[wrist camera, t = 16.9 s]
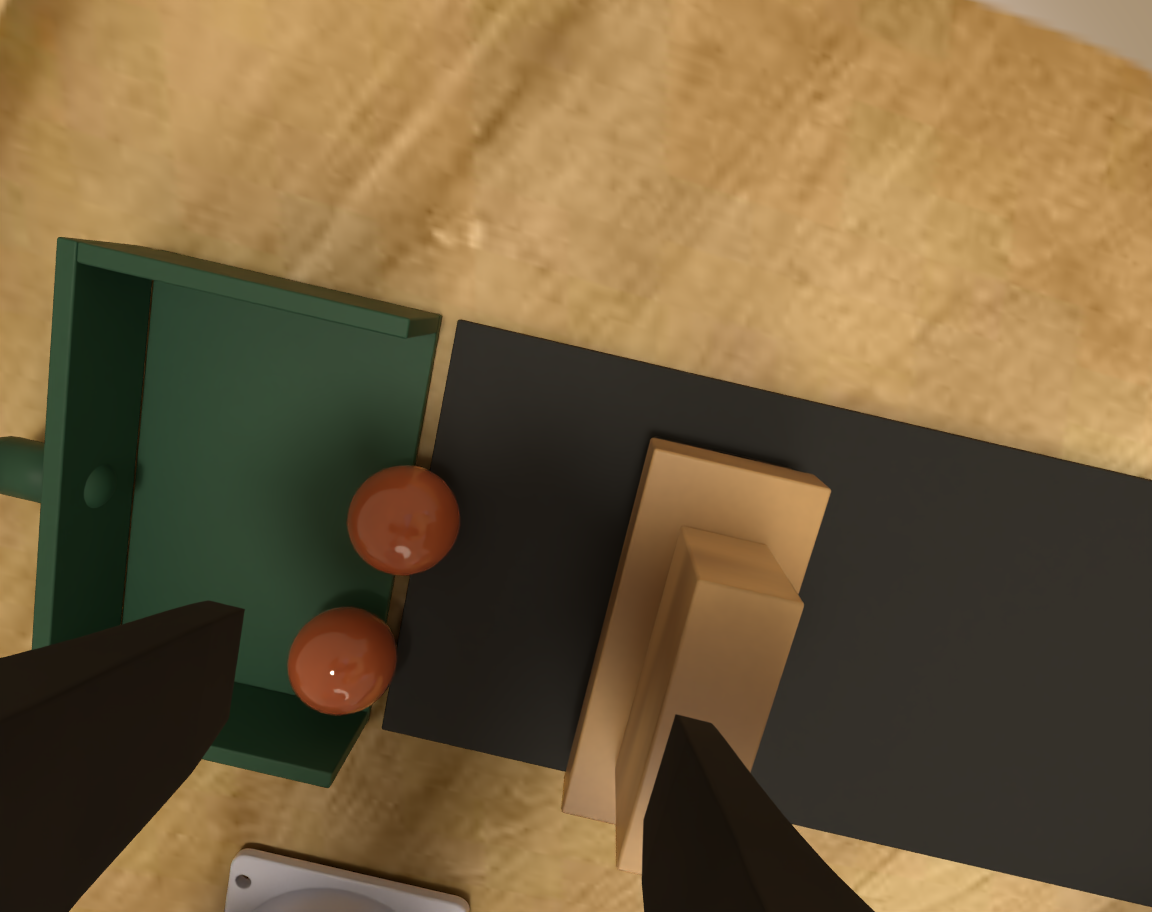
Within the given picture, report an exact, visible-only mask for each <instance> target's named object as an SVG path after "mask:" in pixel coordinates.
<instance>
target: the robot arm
mask: <svg viewBox="0 0 1152 912" xmlns="http://www.w3.org/2000/svg"><path fill="white" fill-rule="evenodd" d="M244 612H245V609H243V608H238V607H234V606H230V605H226V604H222V603H218V602H214V601H210V600H207V601H202V602H197V603H193V604H189V605H185V606H182V607H178V608H175V609H171V610H168V611H164V612H161V613H158V614H154V615H151V616H148V617H145V618H141V619H138V620H135V621H132V622H128V623H125V624H122V625H118V626H115V627H112V628H109V629H105V630H102V631H99V632H95V633H92V634H89V635H85V636H82V637H78V638H75V639H71V640H67V641H63V642H60V643H56V644H52V645H48V646H45V647H41V648H37V649H34V650H30V651H26V652H22V653H19V654H15V655H11V656H7V657H3V658H0V912H69V911H70V910H71V908H72V907H73V906H74V905H75V904H76V902H77V901H78V900H79V899H80V898H81V896H82V895H83V894H84V893H85V892H86V891H87V890H88V888H89V887H90V886H91V885H92V884H93V883H94V882H95V881H96V880H97V878H98V877H99V876H100V875H101V874H102V873H103V872H104V871H105V870H106V868H107V867H108V866H109V865H110V864H111V863H112V862H113V861H114V860H115V858H116V857H117V856H118V855H119V854H120V853H121V852H122V851H123V850H124V848H125V847H126V846H127V845H128V844H129V843H130V842H131V841H132V840H133V838H134V837H135V836H136V835H137V834H138V833H139V832H140V831H141V830H142V828H143V827H144V826H145V825H146V824H147V823H148V822H149V821H150V820H151V819H152V817H153V816H154V815H155V814H156V813H157V812H158V811H159V810H160V808H161V807H162V806H163V805H164V804H165V803H166V802H167V801H168V799H169V798H170V797H171V796H172V795H173V794H174V793H175V791H176V790H177V789H178V788H179V787H180V786H181V785H182V783H183V782H184V781H185V780H186V779H187V778H188V777H189V775H190V774H191V773H192V772H193V770H194V769H195V768H196V766H197V765H198V763H199V762H200V761H201V759H202V758H203V756H204V755H205V753H206V752H207V751H208V749H209V748H210V746H211V745H212V743H213V742H214V740H215V739H216V737H217V736H218V734H219V733H220V731H221V730H222V728H223V727H224V725H225V724H226V722H227V721H228V719H229V713H230V707H231V700H232V693H233V686H234V680H235V673H236V666H237V659H238V653H239V646H240V639H241V632H242V626H243V619H244ZM243 875H245V876H247V877H249V879H247V878H245V877H244V876H243ZM642 890H643V902H644V912H874V911H873V910H872V909H871V908H870V907H869V906H868V905H867V904H866V903H865V902H864V901H863V900H862V899H861V898H860V897H859V896H858V895H857V894H856V893H855V892H854V891H853V890H852V889H851V888H850V887H849V886H848V885H847V884H846V883H845V882H844V881H843V880H842V879H841V878H840V877H839V876H838V875H837V874H836V873H835V872H834V871H833V870H832V869H831V868H830V867H829V866H828V865H827V864H826V863H825V862H824V861H823V860H822V858H821V857H820V856H819V855H818V854H817V853H816V852H815V851H814V849H813V848H812V847H811V846H810V845H809V844H808V843H807V842H806V840H805V839H804V838H803V837H802V836H801V835H800V834H799V832H798V831H797V830H796V829H795V828H794V827H793V826H792V824H791V823H790V822H789V821H788V820H787V818H786V817H785V816H784V815H783V814H782V812H781V811H780V810H779V809H778V807H777V806H776V805H775V804H774V802H773V801H772V800H771V799H770V797H769V796H768V795H767V794H766V792H765V791H764V790H763V788H762V787H761V786H760V785H759V783H758V782H757V781H756V779H755V778H754V777H753V775H752V774H751V773H750V772H749V770H748V769H747V768H746V766H745V765H744V764H743V762H742V761H741V760H740V758H739V757H738V756H737V754H736V753H735V752H734V750H733V749H732V748H731V746H730V745H729V744H728V742H727V741H726V740H725V738H724V737H723V736H722V734H721V733H720V732H719V731H718V729H717V728H716V727H715V726H714V725H713V724H712V723H710V722H706V721H702V720H698V719H694V718H689V717H685V716H681V715H677V714H675V718H674V721H673V724H672V727H671V731H670V734H669V737H668V741H667V744H666V747H665V750H664V754H663V757H662V760H661V764H660V767H659V770H658V773H657V777H656V780H655V783H654V787H653V790H652V793H651V796H650V800H649V803H648V806H647V810H646V813H645V816H644V819H643V845H642ZM224 912H469V905H468V903H467V901H466V900H464V899H463V898H461V897H459V896H455V895H451V894H447V893H442V892H438V891H434V890H429V889H425V888H421V887H416V886H412V885H408V884H403V883H399V882H395V881H390V880H386V879H382V878H377V877H373V876H369V875H364V874H360V873H356V872H351V871H347V870H343V869H338V868H334V867H330V866H325V865H321V864H317V863H312V862H308V861H304V860H299V859H295V858H291V857H286V856H282V855H278V854H273V853H269V852H265V851H260V850H256V849H250V848H246V849H242V850H240V851H239V852H238V853H237V854H236V856H235V857H234V859H233V861H232V863H231V868H230V875H229V882H228V889H227V896H226V903H225V910H224Z"/></svg>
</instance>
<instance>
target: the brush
mask: <svg viewBox="0 0 1152 912" xmlns="http://www.w3.org/2000/svg"><path fill="white" fill-rule="evenodd" d="M830 494H831V489H830V488H829V487H827V486H826V485H825V484H824V483H823V482H822V481H821V480H819V479H818V478H817V477H816V476H815V475H813V474H809V473H804V472H800V471H796V470H793V469H791V468H790V467H788V466H783V465H779V464H775V463H770V462H766V461H762V460H757V459H753V458H749V457H744V456H740V455H736V454H732V453H727V452H723V451H719V450H714V449H710V448H706V447H701V446H697V445H693V444H689V443H684V442H680V441H676V440H671V439H667V438H663V437H658V436H654V437H653V438H651V440H650V443H649V447H648V451H647V455H646V459H645V463H644V466H643V470H642V474H641V478H640V482H639V486H638V490H637V494H636V498H635V502H634V506H633V510H632V513H631V517H630V521H629V525H628V529H627V533H626V537H625V541H624V545H623V549H622V553H621V557H620V560H619V564H618V568H617V572H616V576H615V580H614V584H613V588H612V592H611V596H610V600H609V604H608V607H607V611H606V615H605V619H604V623H603V627H602V631H601V635H600V639H599V643H598V647H597V651H596V654H595V658H594V662H593V666H592V670H591V674H590V678H589V682H588V686H587V690H586V694H585V698H584V701H583V705H582V709H581V713H580V717H579V721H578V725H577V729H576V733H575V737H574V741H573V745H572V748H571V752H570V756H569V760H568V764H567V768H566V772H565V776H564V785H563V795H562V805H561V811H562V812H563V813H567V814H572V815H576V816H580V817H584V818H589V819H593V820H597V821H602V822H606V823H610V824H615V825H616V867H617V869H618V870H621V871H625V872H630V873H634V874H638V875H642V845H643V819H644V816H645V813H646V810H647V806H648V803H649V800H650V796H651V793H652V790H653V787H654V783H655V780H656V777H657V773H658V770H659V767H660V764H661V760H662V757H663V754H664V750H665V747H666V744H667V741H668V737H669V734H670V731H671V727H672V724H673V721H674V718H675V714H677V715H681V716H685V717H689V718H694V719H698V720H702V721H706V722H710V723H712V724H713V725H714V726H715V727H716V728H717V729H718V731H719V732H720V733H721V734H722V736H723V737H724V738H725V740H726V741H727V742H728V744H729V745H730V746H731V748H732V749H733V750H734V752H735V753H736V754H737V756H738V757H739V758H740V760H741V761H742V762H743V764H744V765H745V766H746V768H747V769H748V770H749V772H750V773H751V769H752V766H753V763H754V760H755V757H756V754H757V751H758V748H759V745H760V741H761V738H762V735H763V732H764V729H765V726H766V723H767V720H768V717H769V713H770V710H771V707H772V704H773V701H774V698H775V695H776V692H777V689H778V685H779V682H780V679H781V676H782V673H783V670H784V667H785V664H786V661H787V657H788V654H789V651H790V648H791V645H792V642H793V639H794V636H795V633H796V629H797V626H798V623H799V620H800V617H801V614H802V611H803V608H804V603H803V601H802V600H801V598H800V597H799V595H798V594H799V591H800V588H801V585H802V582H803V578H804V575H805V572H806V569H807V566H808V563H809V560H810V556H811V553H812V550H813V547H814V544H815V541H816V538H817V534H818V531H819V528H820V525H821V522H822V519H823V516H824V512H825V509H826V506H827V503H828V500H829V497H830Z"/></svg>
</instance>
